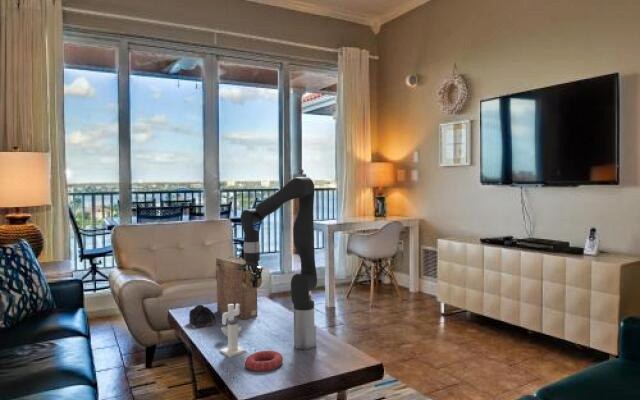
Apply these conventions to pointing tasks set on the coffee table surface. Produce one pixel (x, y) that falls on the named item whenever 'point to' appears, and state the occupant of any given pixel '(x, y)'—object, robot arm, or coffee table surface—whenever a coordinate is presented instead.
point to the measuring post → (232, 340)
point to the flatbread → (247, 283)
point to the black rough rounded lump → (201, 316)
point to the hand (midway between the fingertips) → (252, 286)
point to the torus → (273, 362)
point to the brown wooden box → (234, 288)
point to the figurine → (230, 317)
